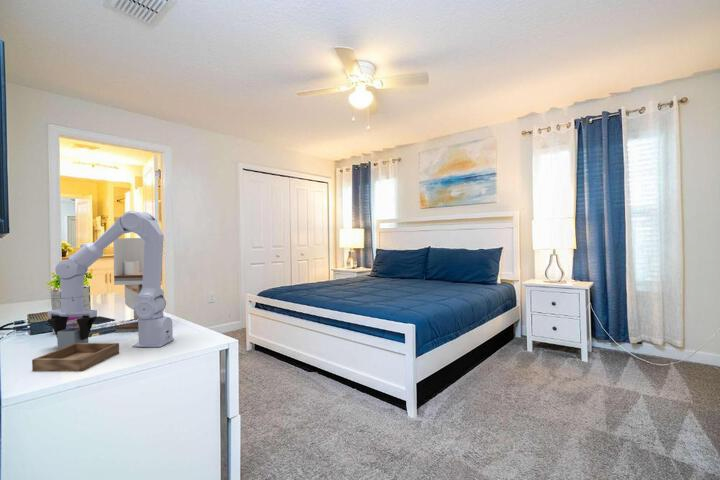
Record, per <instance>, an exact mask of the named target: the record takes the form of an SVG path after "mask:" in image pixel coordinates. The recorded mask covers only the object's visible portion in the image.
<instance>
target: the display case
mask: <svg viewBox="0 0 720 480" xmlns="http://www.w3.org/2000/svg"><path fill="white" fill-rule="evenodd" d="M112 243H113V278H114V279H113V281H114V282H113V285H114V286H121V285H122V286H124V304H125V305H126V306H127V307H128V308H129V309H132V310H133V319H130V320H129V321H132V320H137V319H138V316H137V315H136V314H135V312H134V307H135V305H136V303H137V301H138V295H139V293H140V292H141V290H142V282H143V265H144V248H145V241H144V240H143V239H142V238H141V237H119V238H117V239H116V240H115V241H113V242H112ZM118 326H119V325H118ZM115 329H116V331H115ZM116 332H117V333H138V322H137V323H132V324H128V325H124V326H119V327H116V326H115V327H114V333H116Z"/></svg>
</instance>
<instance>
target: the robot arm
mask: <svg viewBox="0 0 720 480" xmlns="http://www.w3.org/2000/svg"><path fill="white" fill-rule="evenodd" d="M129 233H134V234H135V235H137V236H138V237H139V238H142V239H143V240H144V241H145V248H144V265H143V282H142V290H141V292H140V293H139V295H138V301H137V303H136V305H135V307H134V310H133V313H134V312H135V314H136V315H137V316H138V332H137V333H138V342H136V343H135V344H132V345H131V348H161V347H163V346H165V345H167V344H169V343H170V342H172V341H174V340H175V338H174V337H173V334H174V333H173V320H172V318H171V317H169V316H165V315H164V310H165V309H166V306H167V300H166V297H165V296H164V295H165V292H164V289H162V272H163V254H164V253H163V252H164V238H165V235H164V233H163V232H162V229H161V227H160V225H159V224H158V219H157V218H156V217H154V216H153V215H152V214H151V213H148V212H146V211H145V212H143V211H141V212H140V211H135V210H128V211H126V212H124V213H123V214H122V215H121V216H119V217H117V218H116V220H115V221H114V223H112V224H111V226H109V228H107V230H105V231H104V232H103V233H102V234H101V235H100V236H99V237H98V238H97V239H96V240H95V241H94V242H87V243H83V244H81V245H80V246H79V247H80V249H78V250H77V251H76V252H75V253H73V254H70V255H69V256H68V259H64V260H60V261H59V262H58V263H57V265H56V266H55V274H56V275H57V276H58V277H59V282H60V284H59V285H60V286H59V287H60V293H61V310H52V309H50V310H47V318H48V319H47V323H48V324H49V325H50V326H51V327H52V330H53V329H54V331H55V334H56V335H55V334H54V335H55V336H56V337H57V332H58V331H61V330H64V329H66V324H67V320H68V317H82V318H79V319H77V322H78V325H79V328H80V338H81V340H84V339H87V338H88V339H89V336H90V331H91V329H92V327H93V325H94V324H93V323H94V321H95V320H96V318H97V317H98V310H97V309H91V310H89V309H84V286H85V285H84V281H85V275H86V274H87V272H88V271H89V268H90V267H91V266H92V265H93V264H94V263H96V262H97V261H98V260H99V259H100V258H101V257H102V256H103V255H104V249H106V248H107V247H108V246H111V244H112V243H113V241H115V240H116V239H117V238H121V236H122V235H125V234H129Z"/></svg>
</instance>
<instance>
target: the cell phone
mask: <svg viewBox="0 0 720 480" xmlns="http://www.w3.org/2000/svg"><path fill="white" fill-rule="evenodd" d="M115 320H116V319H115V318H111V317H110V318H109V317H105V316H100V315H99V316H98V315H97V318H96V320H95V321H94V323H93V325H102V324H107V323H111V321H112V322H116V321H115Z"/></svg>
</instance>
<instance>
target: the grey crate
mask: <svg viewBox="0 0 720 480" xmlns="http://www.w3.org/2000/svg"><path fill="white" fill-rule="evenodd" d="M56 339H57V350H59V349H61V348H64V347H67V346H69V345H72V344H74V343H89V337H88V338H87V339H84V340H81V338H80V328H79V327H71V328H67V329H64V330H61V331H58V332H57V336H56Z"/></svg>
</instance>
